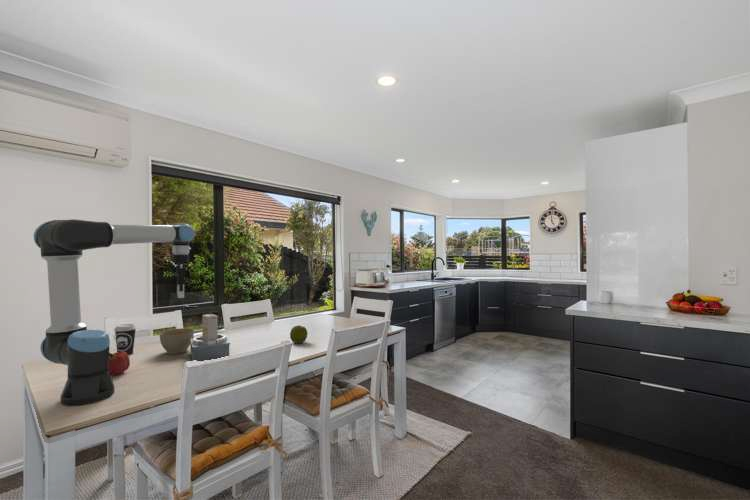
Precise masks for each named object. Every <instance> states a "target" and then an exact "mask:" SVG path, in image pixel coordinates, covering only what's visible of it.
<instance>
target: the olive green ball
mask: <svg viewBox="0 0 750 500" xmlns="http://www.w3.org/2000/svg"><path fill="white" fill-rule="evenodd" d="M308 333H309V332H308V330H307V328H306V327H305V326H302V325H296V326H293V327H292V328H291V329H290V333H289V338H290V340H291V341H292V343H294V344H297V343H300V344H302V342H303V343H304V342H306V340H307V338H308Z"/></svg>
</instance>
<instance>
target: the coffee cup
mask: <svg viewBox="0 0 750 500" xmlns="http://www.w3.org/2000/svg"><path fill="white" fill-rule="evenodd" d="M136 330H137V326H136V324H135V323H124V324H117V325H116V326H115V328H114V329H113V332H115V333H114V334H115V343H116V344H115V345H116V352H122V351H123V352H126V353H127V354H128V356H131V355H133V354H134V348H135V347H134V346H135V337H136Z"/></svg>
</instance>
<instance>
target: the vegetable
mask: <svg viewBox="0 0 750 500" xmlns="http://www.w3.org/2000/svg"><path fill="white" fill-rule="evenodd" d="M130 366H131V359H130V355H128V354H127V353H126V352H123V351H122V352H117V351H116V352H114V353H111V352H109V374H110V376H111V375H114V376H117V375H121V374H123V373H124V372H126V371H127V370H128V369H129V368H130Z"/></svg>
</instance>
